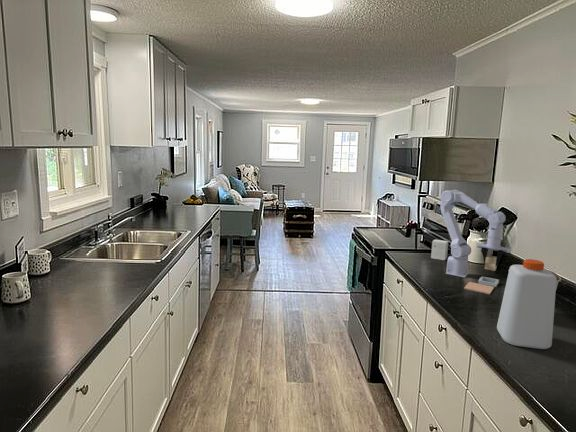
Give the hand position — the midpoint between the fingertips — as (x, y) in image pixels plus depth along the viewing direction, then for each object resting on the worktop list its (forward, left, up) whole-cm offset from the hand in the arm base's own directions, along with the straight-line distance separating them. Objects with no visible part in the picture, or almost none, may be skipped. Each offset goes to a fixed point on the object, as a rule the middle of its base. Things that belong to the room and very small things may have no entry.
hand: (490, 264), depth 202 cm
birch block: (0, 0, -2) cm, 2 cm away
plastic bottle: (+21, -58, -10) cm, 62 cm away
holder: (0, 0, -9) cm, 9 cm away
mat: (-2, -12, -9) cm, 15 cm away
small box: (-32, +29, -10) cm, 44 cm away
